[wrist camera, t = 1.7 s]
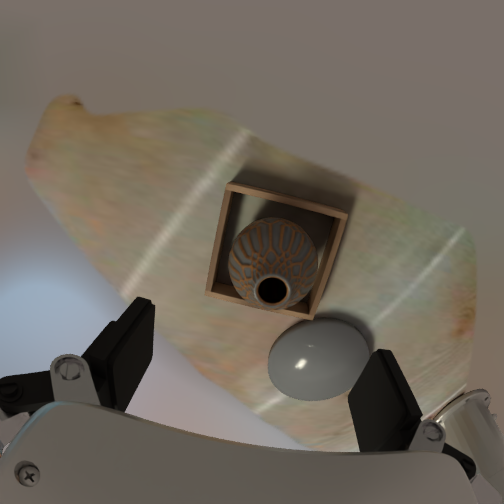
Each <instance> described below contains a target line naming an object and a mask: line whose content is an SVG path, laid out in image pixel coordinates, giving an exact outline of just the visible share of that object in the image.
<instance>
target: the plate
mask: <svg viewBox="0 0 504 504" xmlns="http://www.w3.org/2000/svg"><path fill="white" fill-rule="evenodd" d="M368 360H369V349H368V346H367V344H366V341H365V339H364V337H363V335H362V334H361V333H360V331H359V330H358V329H357V328H355V327H354V326H353V325H351V324H349V323H347V322H345V321H343V320H339V319H334V318H315V319H313V320H307V321H303V322H301V323H298V324H296V325H294V326H292V327H290V328H289V329H287V330H286V331H285V332H283V333H282V334H281V335H280V336H279V337H278V338H277V339H276V341H275V342H274V344H273V345H272V347H271V350H270V353H269V357H268V374H269V377H270V379H271V382H272V383H273V384H274V386H275V387H276V388H277V389H278V390H279V391H281V392H282V393H283V394H285V395H287V396H289V397H292V398H295V399H298V400H304V401H319V400H325V399H330V398H333V397H336V396H338V395H340V394H342V393H344V392H346V391H348V390H349V389H351V388H352V387H353V386H354V385H355V383H356V381H357V380H358V378H359V376H360V375H361V373H362V371H363V369H364V368H365V366H366V364H367V362H368Z"/></svg>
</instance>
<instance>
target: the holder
mask: <svg viewBox="0 0 504 504" xmlns="http://www.w3.org/2000/svg"><path fill="white" fill-rule="evenodd" d="M234 192H238V193H243V194H247V195H251V196H256V197H260V198H264V199H268V200H272V201H276V202H280V203H284V204H288V205H292V206H296V207H300V208H304V209H307V210H311V211H315V212H319V213H322V214H326V215H329V216H333V217H334V221H333V224H332V227H331V231H330V234H329V237H328V241H327V244H326V247H325V250H324V254H323V257H322V260H321V263H320V266H319V269H318V272H317V275H316V278H315V281H314V284H313V287H312V290H311V293H310V296H309V299H308V302H307V303H303V302H298V303H296V304H295V305H293V306H291V307H288V308H285V309H281V310H267V311H271V312H276V313H280V314H285V315H289V316H294V317H298V318H303V319H308V320H313V318H314V315H315V313H316V310H317V307H318V305H319V302H320V299H321V296H322V294H323V291H324V288H325V285H326V282H327V279H328V277H329V274H330V271H331V268H332V265H333V262H334V259H335V256H336V253H337V250H338V246H339V243H340V240H341V237H342V234H343V230H344V227H345V224H346V221H347V217H348V214H347V213H346V212H344V211H343V210H341V209H338V208H334V207H331V206H327V205H324V204H320V203H316V202H313V201H309V200H305V199H301V198H298V197H294V196H290V195H286V194H282V193H278V192H274V191H270V190H266V189H262V188H257V187H253V186H249V185H245V184H240V183H236V182H228V183H227V184H226V188H225V193H224V198H223V202H222V207H221V212H220V217H219V222H218V227H217V232H216V237H215V242H214V247H213V252H212V257H211V262H210V268H209V273H208V279H207V284H206V290H205V295H206V296H209V297H213V298H217V299H221V300H225V301H229V302H233V303H237V304H241V305H245V306H250V307H254V308H258V307H255V306H253V305H251V304H250V303H248V302H247V301H246V300H244V299H243V298H242V297H241V296H240V295H239V293H238V292H237V291H236V289H235V287H234V286H230V285H226V284H222V283H218V282H216V277H217V272H218V267H219V262H220V257H221V252H222V247H223V242H224V237H225V233H226V228H227V223H228V219H229V214H230V209H231V205H232V200H233V196H234ZM258 309H261V308H258ZM262 310H265V309H262Z"/></svg>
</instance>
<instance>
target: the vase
mask: <svg viewBox="0 0 504 504" xmlns="http://www.w3.org/2000/svg"><path fill="white" fill-rule="evenodd" d="M228 267H229V274H230V278H231V281H232V283H233V285H234V287H235V289H236V291H237V292H238V293H239V295H240V296H241V297H242V298H243V299H244V300H246V301H247V302H248V303H250V304H251V305H253V306H255V307H258V308H261V309H265V310H281V309H285V308H288V307H291V306H293V305H295V304H296V303H298V302H299V301H300V300H302V299H303V298H304V297H305V296H306V295H307V293H308V292H309V291H310V289H311V287H312V286H313V283H314V281H315V278H316V275H317V270H318V257H317V252H316V249H315V246H314V244H313V242H312V240H311V238H310V237H309V235H308V234H307V233H306V232H305V231H304V230H303V229H302V228H301V227H300V226H299V225H297V224H296V223H294V222H292V221H290V220H287V219H283V218H277V217H269V218H263V219H260V220H257V221H255V222H253V223H251V224H249V225H248V226H247V227H245V228H244V229H243V230H242V231H241V232H240V233H239V235H238V236H237V237H236V239H235V241H234V243H233V245H232V247H231V250H230V253H229V260H228Z"/></svg>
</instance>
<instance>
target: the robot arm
mask: <svg viewBox="0 0 504 504" xmlns="http://www.w3.org/2000/svg"><path fill="white" fill-rule="evenodd" d="M154 318H155V305H153V304H152V302H151V300H149V299H145V298H142V297H137V298H136V299H135V300H134V301H133V302H132V303H131V305H130V306H129V307H128V308H127V309H126V311H125V312H124V313H123V314H122V315H121V316H120V318H119V319H118V320H117V321H111V322H110V323H109V324H108V325H107V326H106V327H105V328H104V329H103V331H102V332H101V333H100V334H99V335H98V337H97V338H96V339H95V340H94V341H93V343H92V344H91V345H90V346H89V347H88V349H87V350H86V351H85V352H84V354H83V355H82V356H81V357H80V356H77V355H73V354H65V355H61V356H59V357H57V358H55V359H54V361H52V363H51V365H50V370H49V371H42V372H35V373H28V374H20V375H12V376H6V377H3V378H1V379H0V504H504V435H503V434H502V432H501V430H500V429H499V427H498V425H497V424H496V422H495V420H496V419H497V414H491V413H490V411H489V410H488V406H489V403H490V395H489V393H488V392H487V391H486V390H484V389H477V390H473V391H470V392H468V393H466V394H464V395H462V396H460V397H459V398H457V399H456V400H454V401H453V402H452V403H450V404H449V405H448V406H446V407H445V408H444V409H443V410H442V411H441V412H440V413H439V414H438V415H437V416H436V417H435V418H434V420H430V419H427V420H423V421H421V419H420V418H421V417H422V415H423V414H422V412H421V410H420V408H419V406H418V403H417V401H416V399H415V397H414V395H413V393H412V391H411V389H410V387H409V385H408V383H407V381H406V379H405V377H404V375H403V373H402V371H401V369H400V367H399V365H398V363H397V361H396V359H395V357H394V355H393V353H392V352H391V350H385V349H378V350H377V351H376V352H373V353H372V355H371V357H370V359H369V360H368V362H367V364H366V366H365V368H364V369H363V371H362V373H361V375H360V376H359V378H358V380H357V381H356V383H355V385H354V386H353V388H352V390H351V391H350V393H349V395H348V403H349V407H350V411H351V415H352V419H353V423H354V428H355V432H356V436H357V440H358V445H359V449H360V452H321V451H305V450H292V449H282V448H274V447H266V446H258V445H252V444H246V443H240V442H234V441H229V440H224V439H219V438H214V437H209V436H205V435H201V434H196V433H192V432H188V431H185V430H181V429H177V428H174V427H169V426H166V425H163V424H159V423H156V422H153V421H149V420H146V419H143V418H140V417H137V416H134V415H130V414H127V413H124V412H125V410H126V408H127V406H128V405H129V403H130V401H131V399H132V397H133V395H134V393H135V391H136V389H137V387H138V385H139V383H140V381H141V379H142V377H143V375H144V374H145V372H146V370H147V368H148V366H149V364H150V362H151V360H152V356H153V336H154ZM8 443H10V444H9V446H8V447H7V448H6V450H5V452H4V453H3V455H2V450H3V448H4V447H5V446H6V445H7V444H8Z"/></svg>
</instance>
